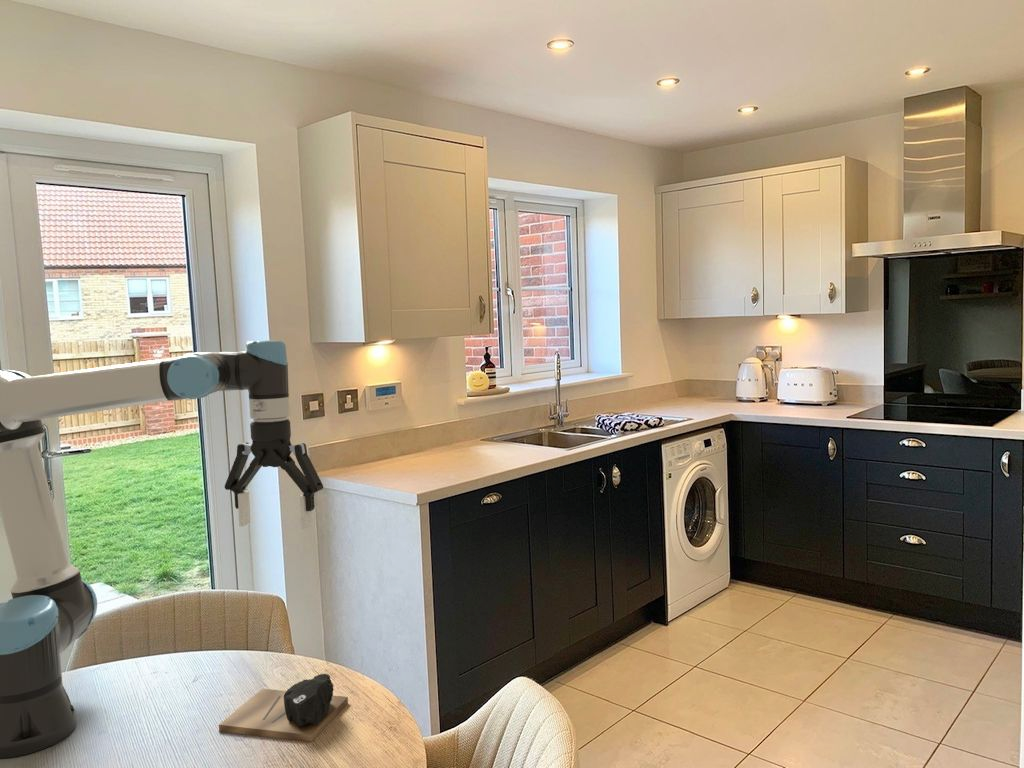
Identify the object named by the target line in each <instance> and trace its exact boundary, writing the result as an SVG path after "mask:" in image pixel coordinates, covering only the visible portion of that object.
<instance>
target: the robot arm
mask: <svg viewBox="0 0 1024 768" xmlns="http://www.w3.org/2000/svg"><path fill="white" fill-rule="evenodd" d="M288 366H289V362H288V355H287V347H286V344H285V343H284V342H283V341H282V340H277V339H276V340H272V339H271V340H249V341H247V342H246V344H245V349H244V350H242V351H215V352H214V351H211V352H210V351H209V352H208V351H206V352H204V351H199V352H197V351H196V352H191V353H188V352H187V353H186V354H183V355H182V356H176V357H175V356H174V357H168V358H161V359H154V360H145V361H139V362H132V363H124V364H115V365H109V366H101V367H94V368H93V367H92V368H87V369H79V370H72V371H64V372H58V373H57V372H55V373H50V374H49V373H48V374H42V375H35V376H31V375H29V374H28V373H25V372H21V371H18V370H10V369H3V368H2V369H0V517H1V521H2V524H3V529H4V532H5V536H6V539H7V543H8V548H9V551H10V555H11V558H12V561H13V566H14V570H15V573H16V580H15V582H14V583H13V585H12V586H11V588H10V593H11V597H12V598H11V599H8V601H7V602H1V603H0V759H4V758H5V759H9V758H15V757H20V756H21V757H22V756H26V755H28V754H29V755H30V754H32V753H35V752H39V751H41V750H43V749H46V748H49V747H51V746H53V745H55V744H57V743H59V742H61V741H62V740H64V739H65V738H67V737H68V736H69V735H70V734H71V733H72V732H73V731H74V730H75V728H76V727H77V714H76V713H77V712H76V709H75V707H74V706H73V704H72V702H71V700H70V698H69V695H68V692H67V691H66V688H65V687H64V685H63V684H64V683H63V677H62V676H63V674H62V662H61V661H62V660H61V655H62V653H63V652H65V650H67V648H68V647H69V646H70V645H71V644H73V643H74V642H75V641H76V640H79V638H80V637H81V636H83V634H85V632H86V631H88V628H89V627H90V625H91V623H93V621H94V619H95V617H96V613H97V609H98V599H97V595H96V593H95V590H94V589H93V587H92V586H91V585H90V583H88V582H85V580H83V579H82V575H81V571H80V569H79V567H77V566H74V565H73V564H70V563H69V561H68V556H67V553H66V549H65V546H64V542H63V537H62V534H61V530H60V529H61V528H60V525H59V521H58V518H57V514H56V510H55V507H54V503H53V499H52V495H51V490H50V486H49V482H48V478H47V475H46V471H45V467H44V464H43V460H42V456H41V452H40V447H39V443H40V441H41V440H42V438H43V437H44V436H45V430H44V426H43V421H42V420H46V419H47V420H48V419H54V418H60V417H61V418H62V417H67V416H75V415H81V414H82V415H83V414H87V413H95V412H104V411H108V410H116V409H123V408H130V407H137V406H138V407H139V406H143V405H150V404H158V403H163V402H164V403H165V402H171V401H181V400H187V399H188V400H197V399H202V398H205V397H207V396H209V395H210V394H213V393H217V392H223V391H224V392H225V391H227V392H228V391H229V392H230V391H244V390H245V391H246V390H248V402H249V406H248V408H249V418H250V419H252V421H250V424H249V425H250V428H249V429H250V439H251V441H252V442H251V444H250V443H249V442H247V441H246V442H243V443H238V444H237V446H236V456H235V459H234V461H233V465H232V466H231V469H230V471H229V473H228V476H227V479H226V481H225V484H224V489H225V490H226V491H229V490H230V491H231V492H232V493H234V507H235V509H236V510H237V509H238V522H239V523H238V524H239V525H238V526H239V527H244V526H247V525H249V524H251V509H250V508H251V507H250V491H249V490H247V487H248V486H249V484H250V483H251V481H252V480H253V479H254V478H255V476H256V475H257V473H258V472H259V470H260V469H261V468H262V467H263V468H268V467H271V468H278V467H280V469H282V470H283V471H285V472H286V474H287V475H288V476H289V477H290V479H291V480H292V481H293V482H294V484H295V485H296V486H297V487H298V489H299V490H300V491H301V492H302V493H303V494H301V495H299V504H300V506H299V507H300V524H301V525H300V526H301V529H302V530H306V529H308V528H309V527H312V526H313V524H312V523H313V522H312V511H315V507H316V506H315V504H316V503H315V493H317V492H319V491H322V490H323V489H324V484H323V483H322V480H321V479H320V477H319V474H318V472H317V471H316V468H315V466H314V465H313V463H312V461H311V458H310V457H309V454H308V449H307V445H306V443H304V442H301V443H299V444H294V445H293V444H292V443H291V436H292V434H291V433H292V432H291V429H292V427H291V421H290V419H289V417H290V416H291V409H290V408H291V407H290V392H289V390H290V389H289V370H288V369H289V368H288ZM250 454H252V455H253V456H254V457H253V459H252V460H251V462H250V463H249V466H248V467H247V469H246V470H245V471H244V468H245V466H246V464H247V461H248V458H249V456H250ZM291 454H293V455H294V456H295V459H296V461H297V463H298V465H299V467H300V468H299V467H298V465H296V461H295V460H294V459H293V457H291V456H292V455H291ZM243 471H244V472H243Z"/></svg>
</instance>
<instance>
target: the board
mask: <svg viewBox="0 0 1024 768" xmlns="http://www.w3.org/2000/svg"><path fill="white" fill-rule="evenodd" d="M286 691H287V690H280V689H268V688H261V689H259V691H257V692H256V693H255V694H254V695H253V696H251V697H250V698H249V699H248V700H247V701H245V702H244V703H243V704H242V705H241V706H239V707H238V708H237V709H235V711H233V712H232V713H231V714H230V715H228V717H225V719H224V720H223V721H221V722H220V723H219V724H218V732H221V733H222V732H224V733H230V734H231V733H233V734H239V735H240V734H242V735H247V736H248V735H249V736H259V737H267V738H276V739H283V740H293V741H302V742H310V743H311V742H313V741H314V740H315V739H316V738H317V737H318V736H319V735H320V734H321V733H322V732H323V730H324V729H325V728H326V727H327V726H328V725H329V724H330V723H331V722H332V721H333V720H334V718H336V716H337V715H339V713H340V712H341V711H342V710H343V709H344V708H345V707H346V706H347V705H348V704H349V697H348V696H345V695H344V696H342V695H334V694H333V696H332V700H331V702H330V705H329V710H328V713H327V715H326V716H325V717H324V718H322V719H321V720H320V722H319V723H318V724H312V723H309V724H308V723H307V724H305V725H303V726H297V725H296V724H295V722H290V721H288V719H287V716H286V712H285V706H284V694H285V692H286Z"/></svg>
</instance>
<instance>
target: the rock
mask: <svg viewBox="0 0 1024 768" xmlns="http://www.w3.org/2000/svg"><path fill="white" fill-rule="evenodd" d="M285 691H286V692H285V694H284V706H285V712H286V716H287V719H288V721H290V722H295V724H296V725H297V726H303V725H305V724H307V723H308V724H309V723H312V724H318V723H319V722H320V720H321V719H322V718H324V717H325V716H326V715H327V713H328V710H329V705H330V702H331V700H332V696H333V695H334V684H333V682H332V680H331V677H330V675H329V674H328V673H321V674H317V675H315V676H313V678H311V679H303V680H302V681H299V682H296V683H295V684H293V685H292V686H290V687H289V688H288V689H287V690H285Z"/></svg>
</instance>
